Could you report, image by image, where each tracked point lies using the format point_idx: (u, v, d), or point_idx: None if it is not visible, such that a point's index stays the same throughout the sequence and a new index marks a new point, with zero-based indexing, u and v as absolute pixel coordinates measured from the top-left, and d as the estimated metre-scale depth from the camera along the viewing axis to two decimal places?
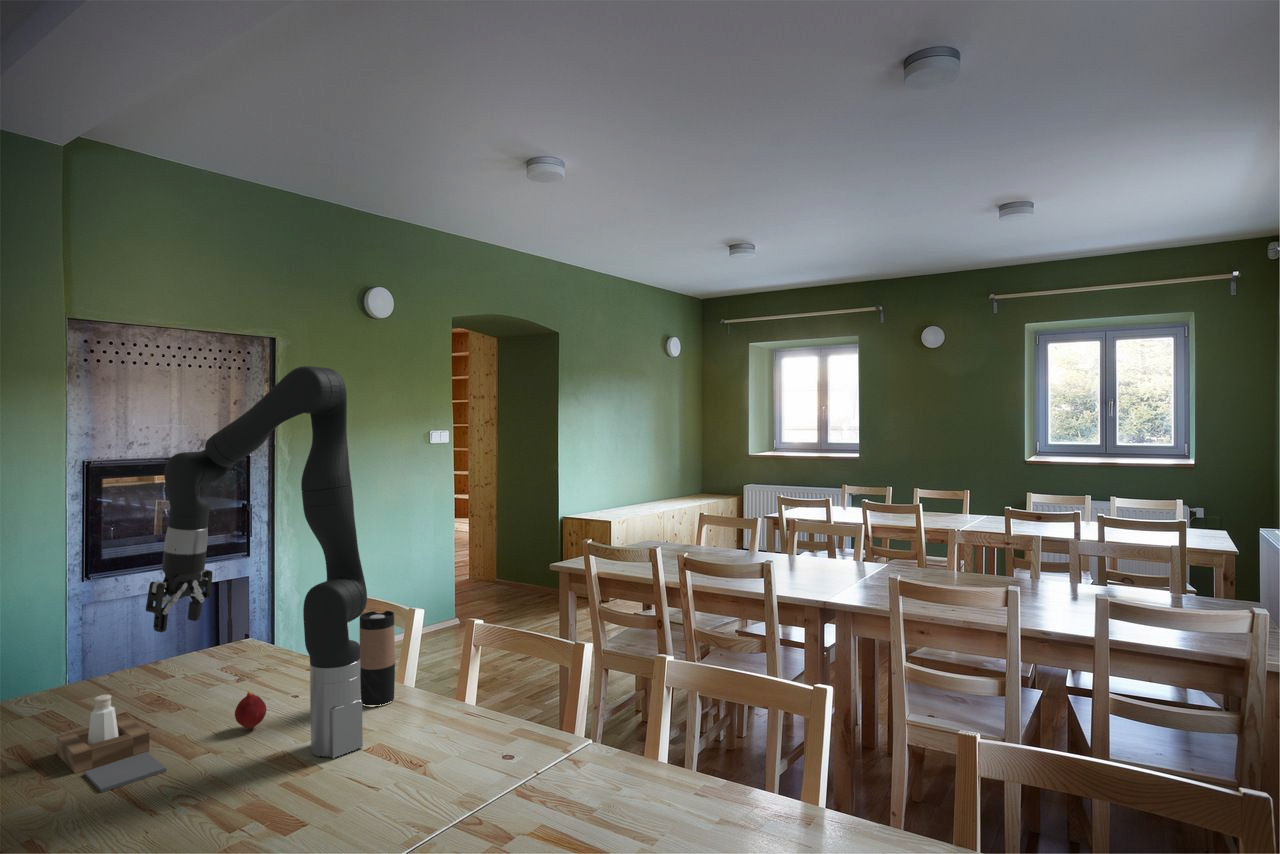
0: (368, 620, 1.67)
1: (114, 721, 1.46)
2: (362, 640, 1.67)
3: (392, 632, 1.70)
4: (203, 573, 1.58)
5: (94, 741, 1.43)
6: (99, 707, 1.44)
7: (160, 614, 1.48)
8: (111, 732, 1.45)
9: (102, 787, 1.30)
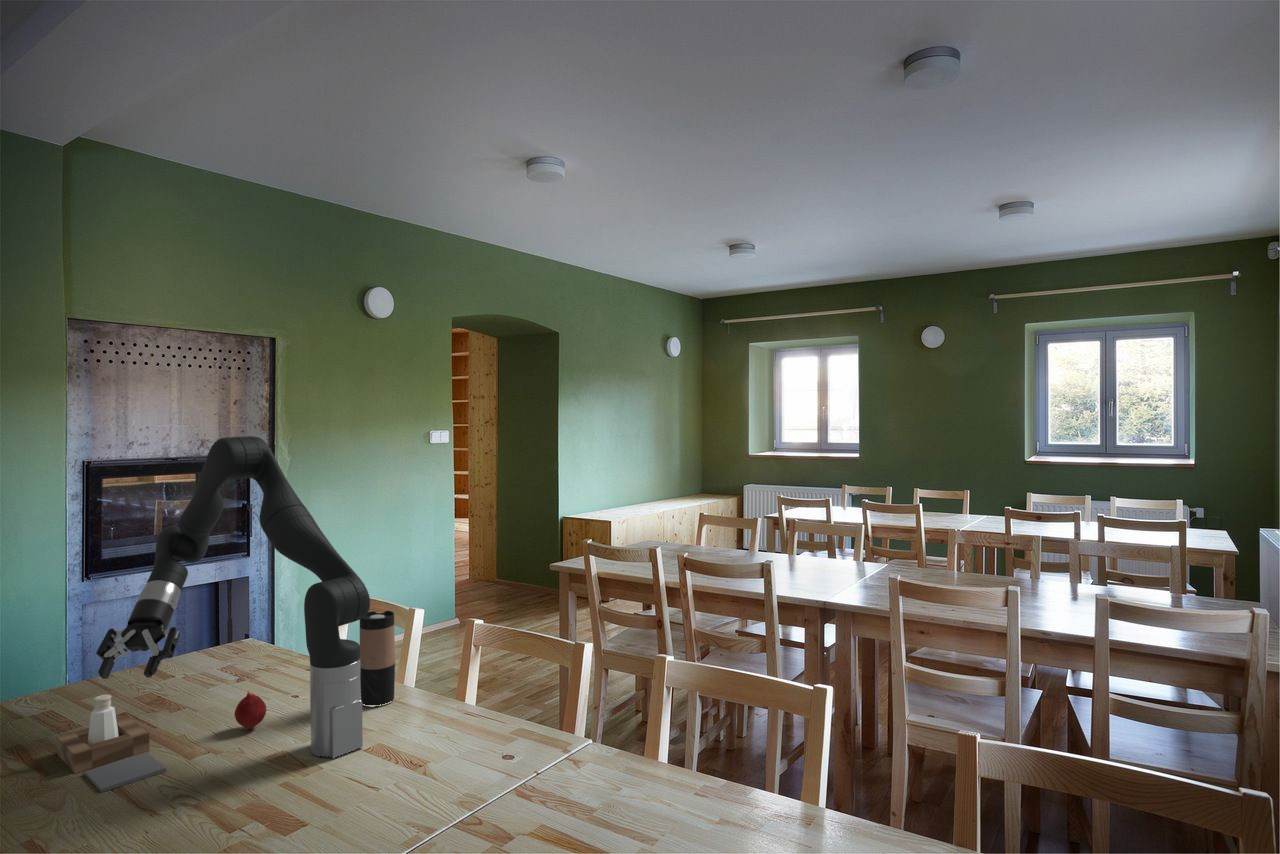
0: (368, 620, 1.67)
1: (114, 721, 1.46)
2: (362, 640, 1.67)
3: (392, 632, 1.70)
4: (168, 630, 1.59)
5: (94, 741, 1.43)
6: (99, 707, 1.44)
7: (104, 658, 1.54)
8: (111, 732, 1.45)
9: (102, 787, 1.30)
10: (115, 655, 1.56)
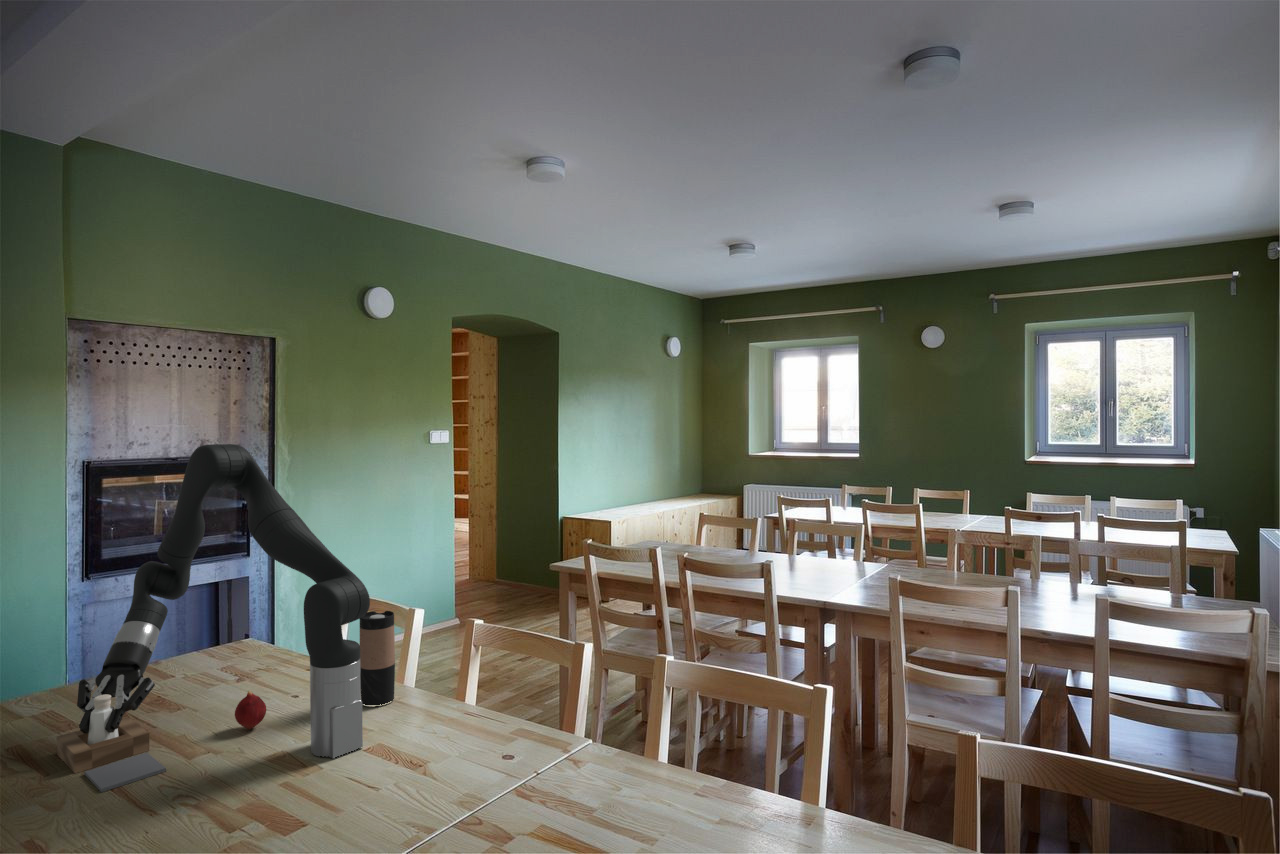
0: (368, 620, 1.67)
1: None
2: (362, 640, 1.67)
3: (392, 632, 1.70)
4: (144, 679, 1.50)
5: (94, 741, 1.43)
6: (99, 707, 1.44)
7: (85, 710, 1.45)
8: None
9: (102, 787, 1.30)
10: None
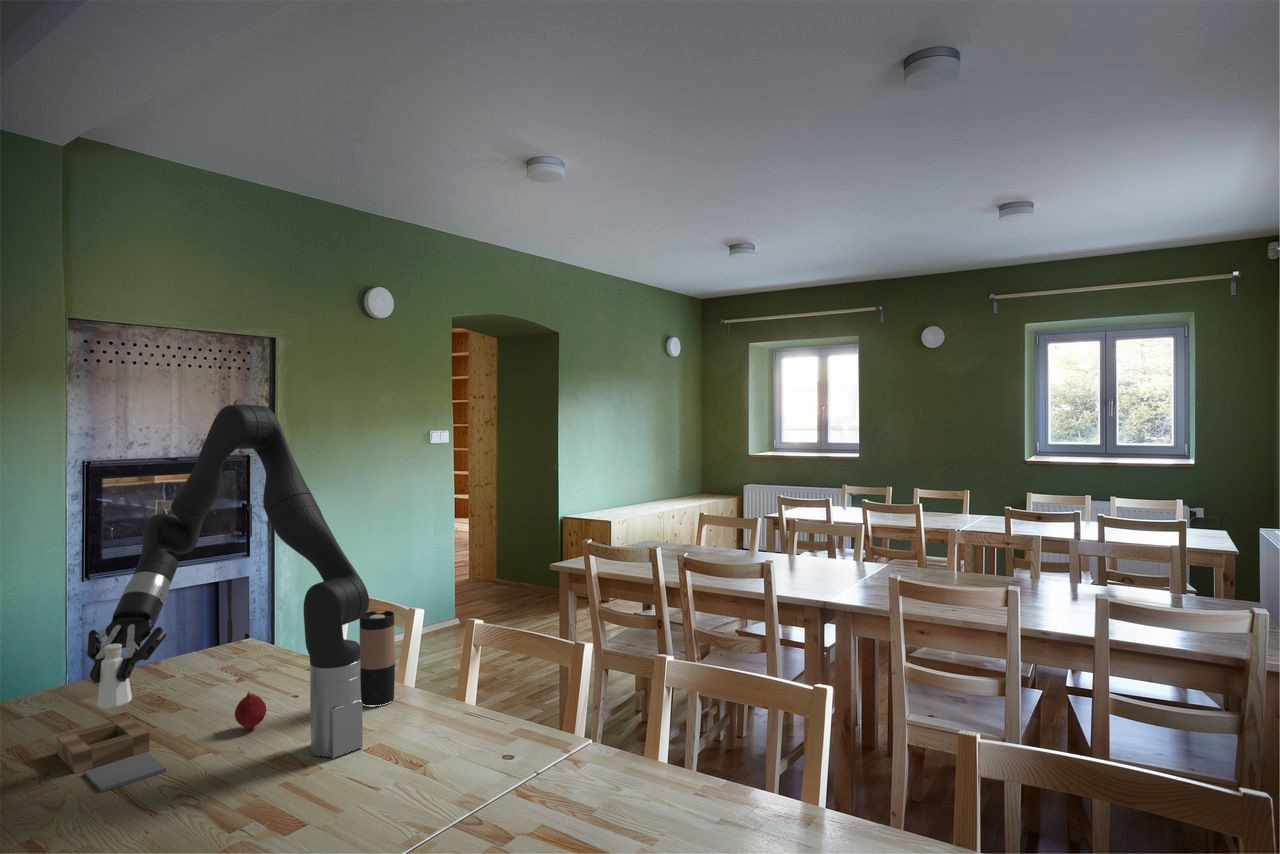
0: (368, 620, 1.67)
1: None
2: (362, 640, 1.67)
3: (392, 632, 1.70)
4: None
5: (105, 691, 1.39)
6: (110, 656, 1.40)
7: (95, 660, 1.41)
8: (122, 682, 1.41)
9: (102, 787, 1.30)
10: None
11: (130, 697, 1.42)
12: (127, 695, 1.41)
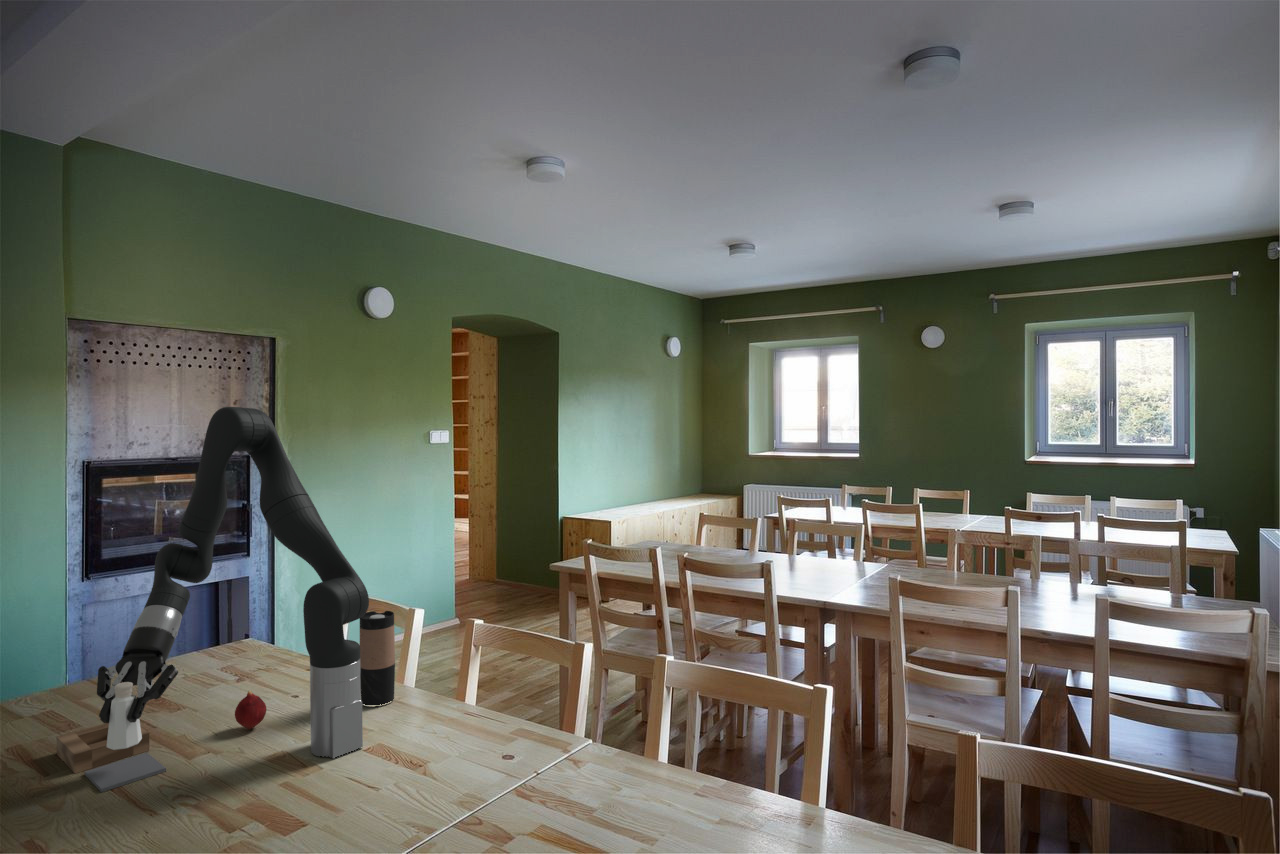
0: (368, 620, 1.67)
1: None
2: (362, 640, 1.67)
3: (392, 632, 1.70)
4: (167, 666, 1.42)
5: (115, 732, 1.35)
6: (120, 695, 1.36)
7: (105, 699, 1.37)
8: (133, 722, 1.36)
9: (102, 787, 1.30)
10: None
11: (140, 737, 1.38)
12: (138, 736, 1.37)
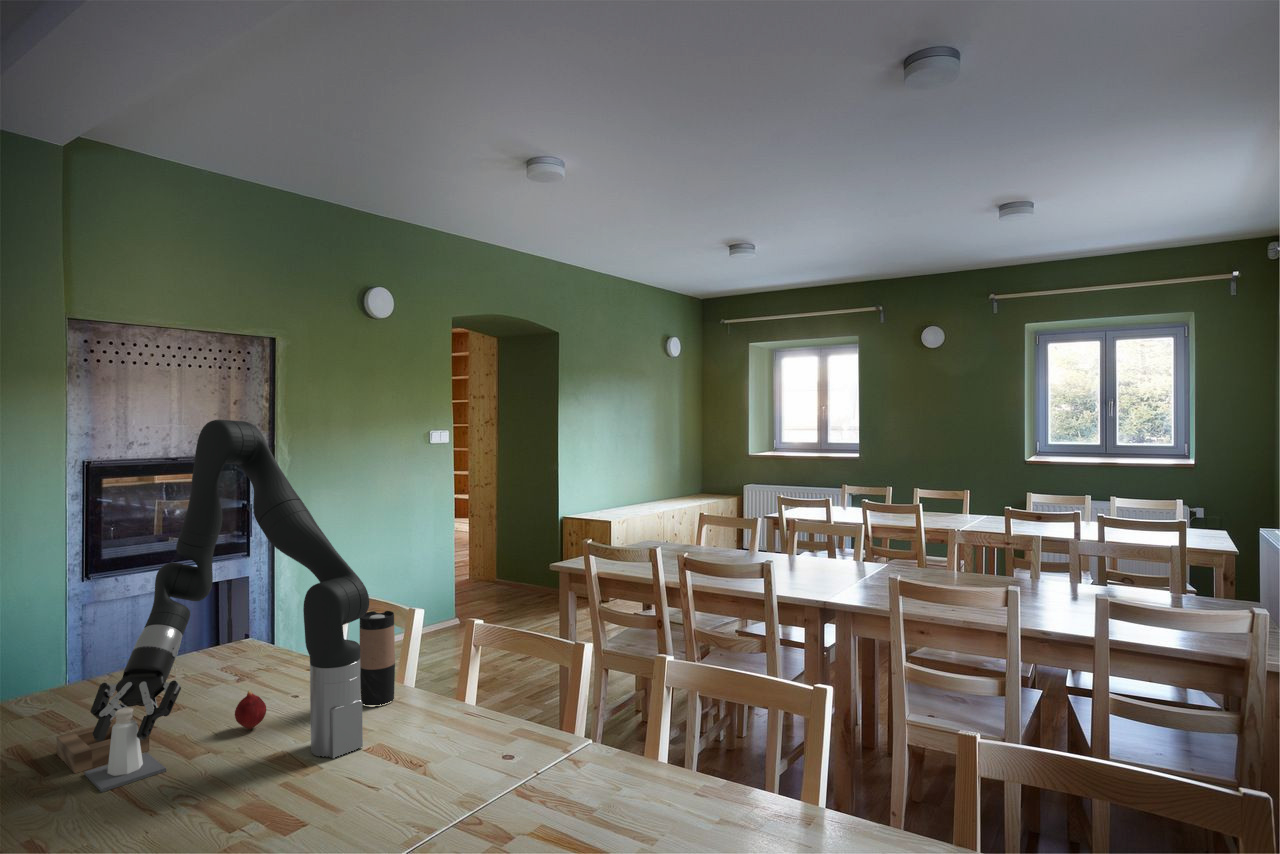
0: (368, 620, 1.67)
1: (136, 736, 1.37)
2: (362, 640, 1.67)
3: (392, 632, 1.70)
4: (168, 684, 1.42)
5: (116, 758, 1.35)
6: (121, 721, 1.36)
7: (99, 717, 1.37)
8: (133, 748, 1.36)
9: (102, 787, 1.30)
10: (111, 713, 1.39)
11: (141, 763, 1.38)
12: (138, 762, 1.37)
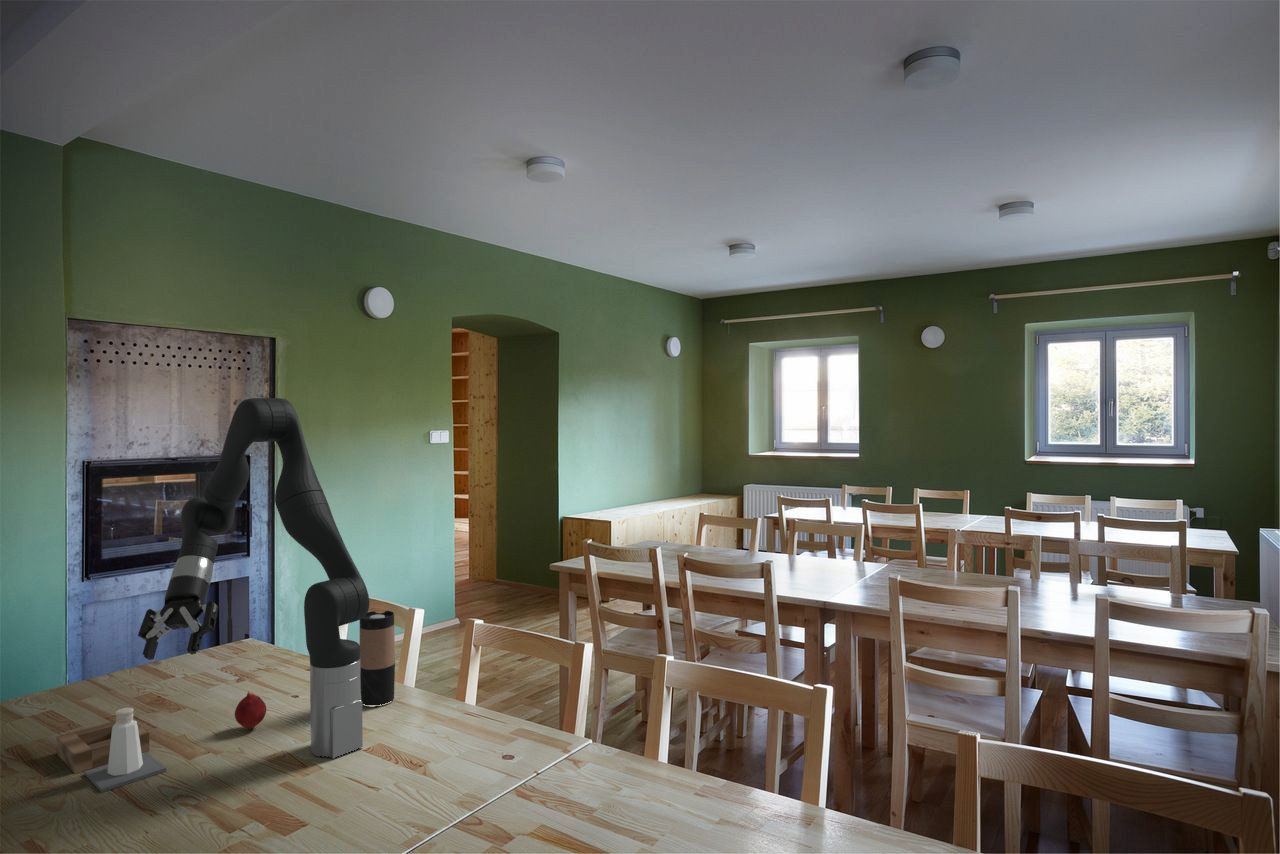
0: (368, 620, 1.67)
1: (136, 736, 1.37)
2: (362, 640, 1.67)
3: (392, 632, 1.70)
4: (206, 605, 1.55)
5: (116, 758, 1.35)
6: (121, 721, 1.36)
7: (146, 639, 1.51)
8: (133, 748, 1.36)
9: (102, 787, 1.30)
10: (157, 635, 1.53)
11: (141, 763, 1.38)
12: (138, 762, 1.37)
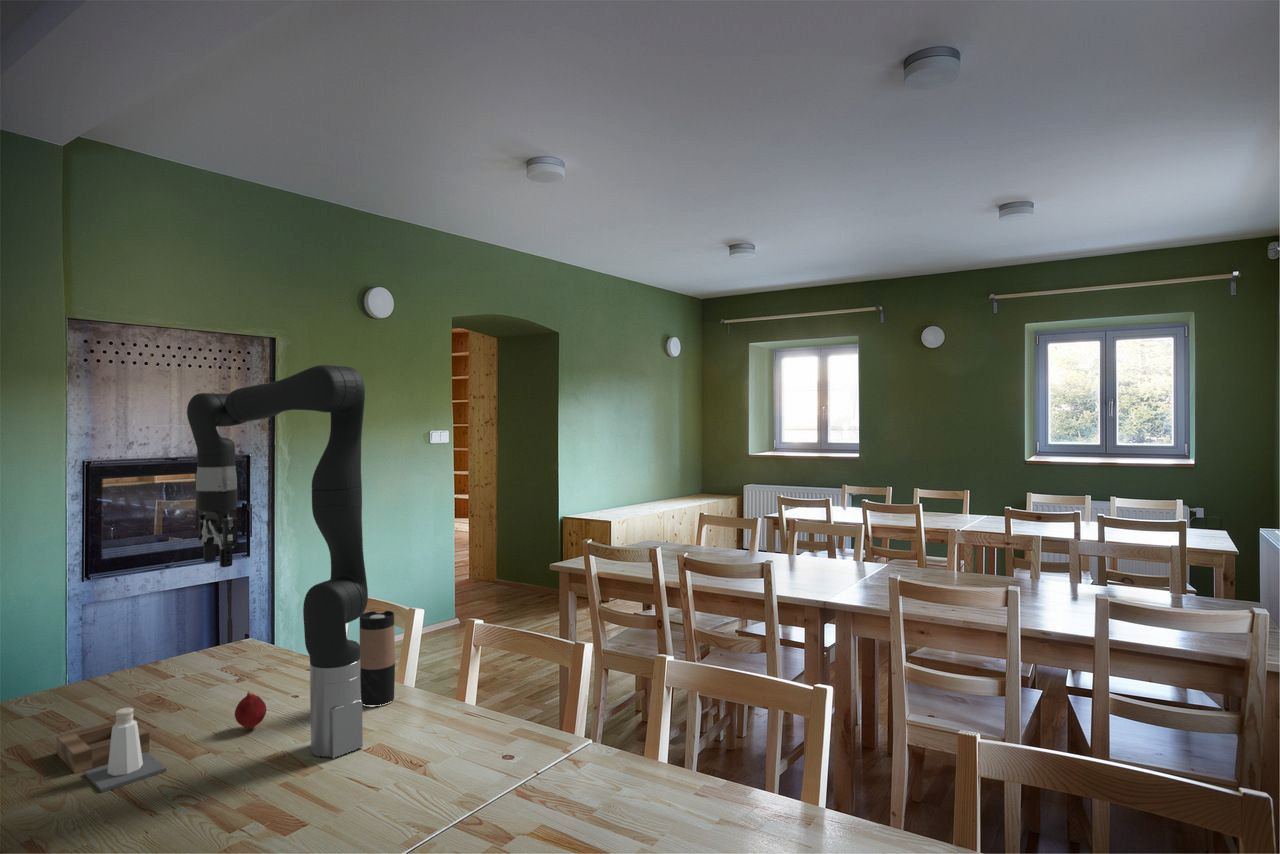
0: (368, 620, 1.67)
1: (136, 736, 1.37)
2: (362, 640, 1.67)
3: (392, 632, 1.70)
4: None
5: (116, 758, 1.35)
6: (121, 721, 1.36)
7: None
8: (133, 748, 1.36)
9: (102, 787, 1.30)
10: (213, 536, 1.61)
11: (141, 763, 1.38)
12: (138, 762, 1.37)
